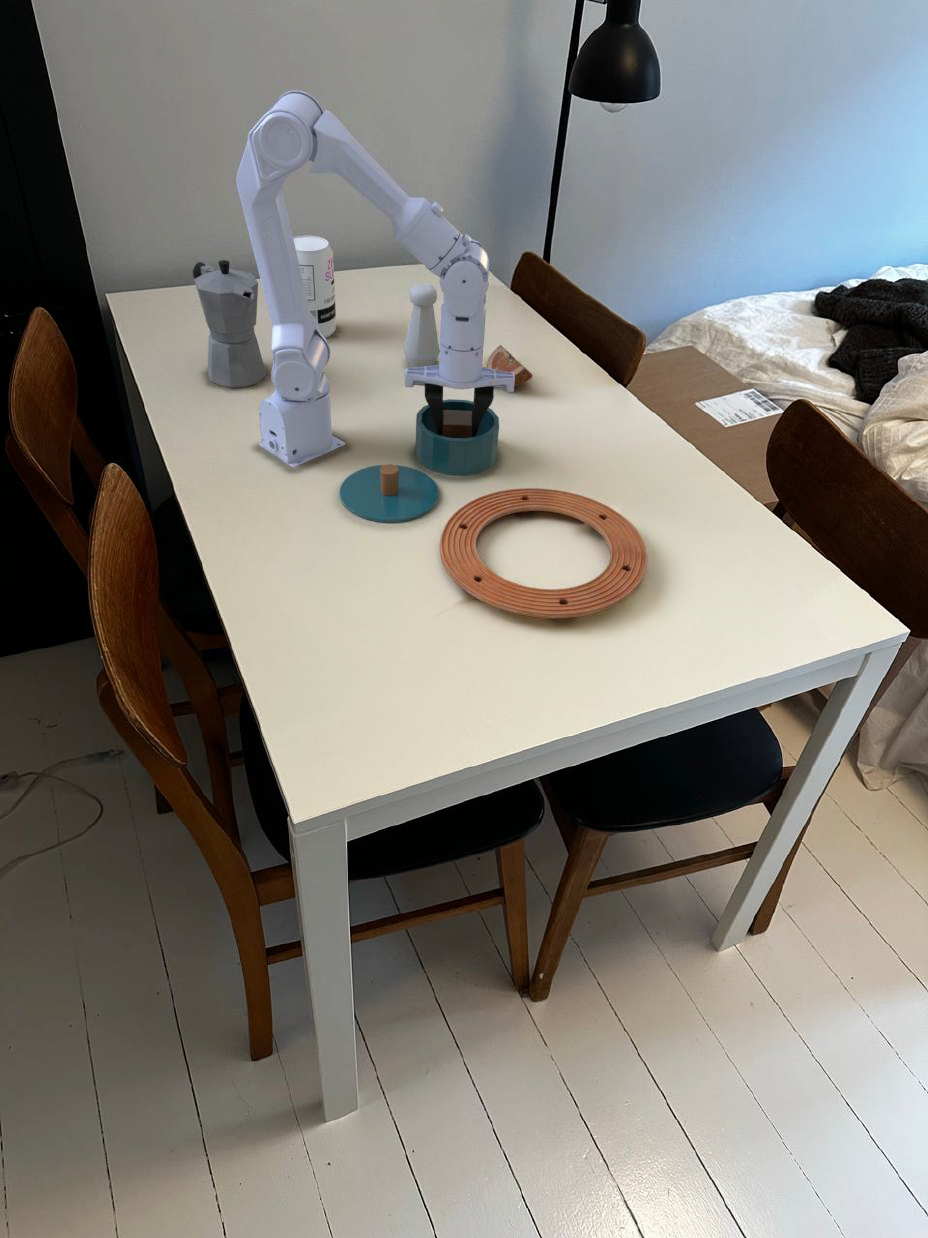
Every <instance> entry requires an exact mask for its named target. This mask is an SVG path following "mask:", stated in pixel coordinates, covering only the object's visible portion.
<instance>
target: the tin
mask: <svg viewBox="0 0 928 1238" xmlns="http://www.w3.org/2000/svg"><path fill="white" fill-rule="evenodd" d="M473 405H474V401H472V400H468V399H456V398H455V399H452V398H449V399H448V398H447V399H443V410H458V411H472V414H473ZM415 416H416V418H415V419H416V420H415V453H414V454H415V458H416V459H417V460H418V462H419V464H420V465H422V467H425V468H426V469H428V470H429V471H431V472H434V473H438V474H441V475H444V476H454V477H455V476H457V477H466V476H471V475H477V474H480V473H482V472H484V471H486V470H489V469H490V468H491V467H492V466H493V465H494V463H495V462H496V461H497V455H498V445H499V434H500V433H499V432H500V417H499V416H498V415H497V413H495V411H494V409H492V408H490V407H489V408H488V409H487V411H486V412H485V414H484V416H483V418H482V420H481V422H480V425H479V427H478V430H477V434H476V437H471V438H465V439H463V438H448V437H445V436H441V435H438V432H437V426H436V422H435V419H434V416H433V413H432V411H431V409H430V407H429V405H428V404H425V405H424V406H422V407H421V408H420V409H419V411H418V412H417V413H416V415H415Z"/></svg>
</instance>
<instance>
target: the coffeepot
mask: <svg viewBox="0 0 928 1238" xmlns="http://www.w3.org/2000/svg"><path fill="white" fill-rule="evenodd" d="M217 263H218V266H219V270H215V268H214V267H213V266H212V265H209V264H207V265H206V264H205V263H204V262H201V261H198V262H196V264H195V265H194V266H193V269H192V277H193V282H194V284H195V288H196V290H197V294H198V298H199V301H200V304H201V308H202V311H203V315H204V319H205V322H206V325H207V328H208V329H209V335H208V347H207V348H208V349H207V350H208V351H207V373H208V377H209V380H210V382H212V383H213V384H215V385H218V386H219V387H224V388H231V389H232V388H235V389H238V388H239V389H240V388H246V387H250V386H254V385H256V384H258V383H259V382H261V381H263V379H264V378H265V377H266V376H267V372H266V367H265V363H264V361H263V360H264V359H263V357H262V353H261V349H260V346H259V343H258V338H257V335H256V334H255V326H256V325H257V314H258V295H259V294H258V293H259V281H258V280H257V278H256V277H255V275H254V273H252V272H247V271H242V270H238V269H234V268H230V261H229V260H226V259H223V260H222V259H221V260H219V261H217Z"/></svg>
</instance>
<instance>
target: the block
mask: <svg viewBox="0 0 928 1238" xmlns="http://www.w3.org/2000/svg"><path fill="white" fill-rule="evenodd" d="M442 436H445V437H448V438H463V439H465V438H471V437H472V411H458V410H443V435H442Z"/></svg>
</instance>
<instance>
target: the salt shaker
mask: <svg viewBox="0 0 928 1238" xmlns="http://www.w3.org/2000/svg"><path fill="white" fill-rule="evenodd" d="M408 293H409V294H408V297H409V301H410V303H411V304H412V308H411V309H412V310H411V314H410V319H409V324H408V328H407V333H406V338H405V342H404V347H403V353H404V356H405V358H406V361H407V363H408V365H409V368H416V367H426V366H434V365H436V362H437V360H438V358H439V355H440V342H439V336H438V329H437V322H436V315H435V308H434V304H436V302H437V299H438V291H437V289H436V288H435V287H434V286H433V285H431V284H428V283H417V284H414V285H413V286H412V287H410V289H409V292H408Z"/></svg>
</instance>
